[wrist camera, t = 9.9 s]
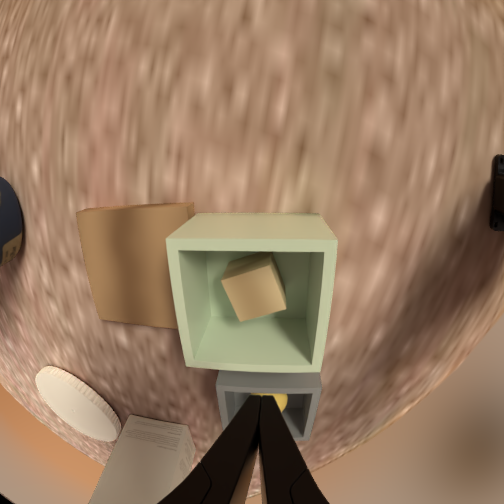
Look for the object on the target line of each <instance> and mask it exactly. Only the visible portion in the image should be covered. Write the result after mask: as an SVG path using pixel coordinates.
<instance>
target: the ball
mask: <svg viewBox="0 0 504 504" xmlns="http://www.w3.org/2000/svg"><path fill="white" fill-rule="evenodd" d="M251 394H253V395H261V397H262V395H273V396H274V397H275V399H276V402H277V404H278V406H279V408H280V410H281V412H282V411H283V410H284V409H285V407H286V405H287V400H288V398H287V394H270V393H251Z"/></svg>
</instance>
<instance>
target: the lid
mask: <svg viewBox="0 0 504 504" xmlns="http://www.w3.org/2000/svg"><path fill="white" fill-rule="evenodd" d="M194 216H195V215H194V202H193V203H166V204H145V205H128V206H113V207H100V208H88V209H84V210H82V211H79V212H77V213H76V217H77V223H78V230H79V236H80V241H81V247H82V252H83V257H84V262H85V266H86V271H87V275H88V279H89V283H90V287H91V291H92V295H93V299H94V302H95V306H96V309H97V313H98V316H99V319H103V320H109V321H116V322H122V323H130V324H137V325H145V326H154V327H163V328H172V329H179V328H178V323H177V317H176V311H175V305H174V299H173V292H172V285H171V278H170V271H169V264H168V256H167V247H166V238H167V237H168V236H169V235H171V234H172V233H173V232H174V231H176V230H177V229H178V228H179V227H181V226H182V225H183V224H185V223H186V222H187V221H188V220H190V219H191V218H192V217H194Z"/></svg>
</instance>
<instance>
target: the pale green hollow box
mask: <svg viewBox="0 0 504 504" xmlns="http://www.w3.org/2000/svg"><path fill="white" fill-rule="evenodd" d="M337 244H338V240H337V238H336V237H335V235H334V234H333V232H332V231H331V230H330V228H329V227H328V225H327V224H326V223H325V221H324V220H323V218H322V217H321V216H320V214H311V213H197V214H196V215H195V216H194V217H192V218H191V219H190V220H188V221H187V222H186V223H185V224H183V225H182V226H181V227H179V228H178V229H177V230H176V231H174V232H173V233H172V234H171V235H169V236H168V237H167V238H166V247H167V256H168V264H169V271H170V278H171V285H172V292H173V299H174V305H175V311H176V317H177V323H178V328H179V334H180V339H181V344H182V349H183V354H184V359H185V364H186V366H187V367H196V368H206V369H217V370H230V371H248V372H279V373H304V372H321V366H322V361H323V355H324V349H325V343H326V337H327V330H328V324H329V317H330V309H331V302H332V294H333V285H334V276H335V266H336V256H337ZM260 251H272V252H273V255H274V258H275V260H276V263H277V266H278V269H279V271H280V274H281V277H282V279H283V282H284V285H285V292H286V309H285V310H281V311H278V312H274V313H271V314H267V315H264V316H260V317H257V318H253V319H249V320H245V321H242V322H240V321H239V319H238V317H237V315H236V312H235V310H234V308H233V306H232V304H231V302H230V300H229V297H228V295H227V293H226V291H225V289H224V287H223V284H222V282H221V279H222V277H223V274H224V272H225V270H226V267H227V265H228V263H229V262H230V261H233V260H236V259H239V258H242V257H245V256H248V255H251V254H254V253H257V252H260Z"/></svg>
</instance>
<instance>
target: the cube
mask: <svg viewBox="0 0 504 504" xmlns="http://www.w3.org/2000/svg"><path fill="white" fill-rule="evenodd" d="M221 282H222V284H223V287H224V289H225V291H226V293H227V295H228V297H229V300H230V302H231V304H232V306H233V308H234V310H235V312H236V315H237V317H238V319H239V321H240V322H242V321H245V320H249V319H253V318H257V317H260V316H264V315H267V314H271V313H274V312H278V311H281V310H285V309H286V292H285V285H284V282H283V279H282V277H281V274H280V271H279V269H278V266H277V263H276V260H275V258H274V255H273V252H272V251H260V252H257V253H254V254H251V255H248V256H245V257H242V258H239V259H236V260H233V261H230V262H229V263H228V265H227V267H226V270H225V272H224V274H223V277H222V279H221Z"/></svg>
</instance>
